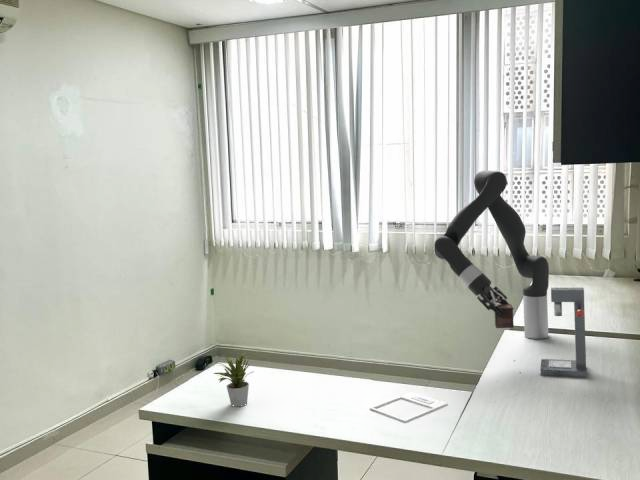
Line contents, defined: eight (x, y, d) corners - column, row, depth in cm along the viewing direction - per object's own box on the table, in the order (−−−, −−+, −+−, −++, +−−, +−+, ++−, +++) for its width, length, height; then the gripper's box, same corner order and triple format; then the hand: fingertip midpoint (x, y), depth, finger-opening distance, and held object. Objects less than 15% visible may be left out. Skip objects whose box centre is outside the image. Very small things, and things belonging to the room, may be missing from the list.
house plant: (225, 394, 202) (221, 347, 200) (265, 394, 199) (261, 346, 198) (210, 411, 188) (206, 359, 186) (253, 410, 185) (249, 359, 184)
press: (541, 364, 211) (538, 285, 208) (585, 366, 205) (583, 285, 203) (540, 380, 195) (537, 295, 192) (587, 383, 190) (585, 295, 187)
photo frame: (447, 402, 179) (405, 420, 168) (447, 406, 180) (405, 424, 169) (411, 391, 191) (369, 407, 180) (411, 394, 191) (369, 410, 180)
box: (513, 328, 210) (513, 307, 209) (495, 328, 211) (495, 308, 211) (512, 324, 216) (511, 303, 215) (494, 324, 217) (493, 304, 217)
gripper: (473, 276, 211) (507, 311, 205) (489, 269, 222) (521, 302, 216) (460, 290, 215) (492, 324, 209) (476, 283, 226) (507, 315, 220)
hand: (507, 313), depth 212 cm, fingers closed on box, 8 cm apart
